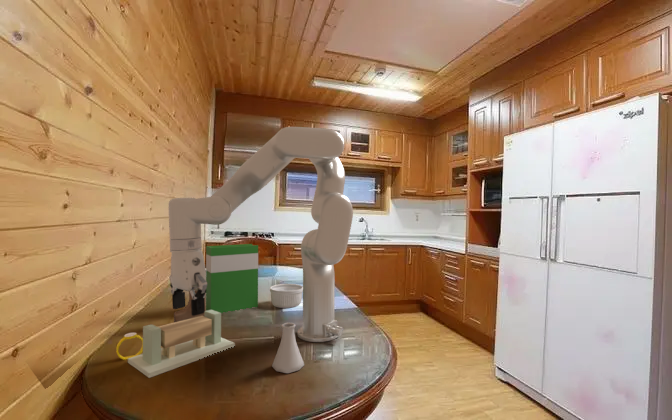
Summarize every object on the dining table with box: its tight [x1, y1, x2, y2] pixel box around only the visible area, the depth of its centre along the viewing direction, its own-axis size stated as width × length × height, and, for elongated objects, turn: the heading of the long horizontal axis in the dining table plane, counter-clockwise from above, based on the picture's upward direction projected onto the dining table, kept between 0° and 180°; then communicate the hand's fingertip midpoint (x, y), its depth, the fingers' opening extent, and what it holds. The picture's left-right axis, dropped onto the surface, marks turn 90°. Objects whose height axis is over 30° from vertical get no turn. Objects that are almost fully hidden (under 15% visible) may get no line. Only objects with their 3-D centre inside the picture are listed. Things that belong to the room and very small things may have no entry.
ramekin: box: [269, 283, 303, 309], centre depth 133 cm, size 13×13×7 cm
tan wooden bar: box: [157, 316, 212, 348], centre depth 85 cm, size 5×12×4 cm, turn 139°
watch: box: [115, 332, 143, 361], centre depth 83 cm, size 6×3×6 cm, turn 128°
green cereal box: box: [205, 243, 259, 314], centre depth 127 cm, size 18×7×24 cm, turn 124°
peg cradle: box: [127, 310, 236, 379], centre depth 85 cm, size 12×22×9 cm, turn 142°
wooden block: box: [173, 269, 207, 323], centre depth 107 cm, size 9×4×18 cm, turn 122°
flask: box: [271, 322, 305, 374], centre depth 79 cm, size 7×7×10 cm
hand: (188, 311), depth 86 cm, fingers open, 9 cm apart
